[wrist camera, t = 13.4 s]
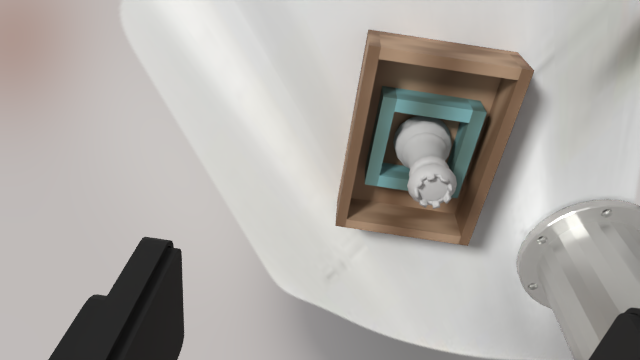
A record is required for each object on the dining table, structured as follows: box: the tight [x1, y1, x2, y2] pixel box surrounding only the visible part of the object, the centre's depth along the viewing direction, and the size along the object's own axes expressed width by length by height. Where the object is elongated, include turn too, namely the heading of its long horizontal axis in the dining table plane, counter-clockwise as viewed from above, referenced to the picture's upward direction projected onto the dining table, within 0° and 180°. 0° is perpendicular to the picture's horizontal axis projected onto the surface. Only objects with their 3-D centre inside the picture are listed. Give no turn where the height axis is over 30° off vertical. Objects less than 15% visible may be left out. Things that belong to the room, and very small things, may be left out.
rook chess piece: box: [393, 116, 457, 209], centre depth 35 cm, size 4×4×8 cm
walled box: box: [336, 30, 534, 246], centre depth 37 cm, size 11×15×4 cm
